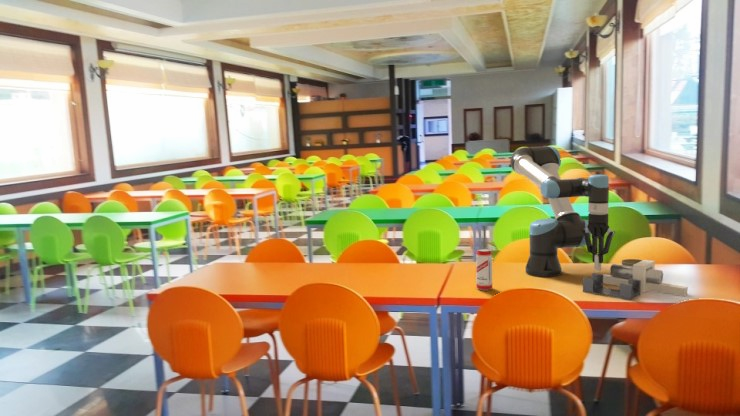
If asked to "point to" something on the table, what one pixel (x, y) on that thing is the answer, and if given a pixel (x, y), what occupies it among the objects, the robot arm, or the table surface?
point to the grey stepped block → (640, 274)
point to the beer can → (484, 269)
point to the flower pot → (630, 262)
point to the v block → (625, 291)
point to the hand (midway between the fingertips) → (597, 270)
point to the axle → (627, 273)
